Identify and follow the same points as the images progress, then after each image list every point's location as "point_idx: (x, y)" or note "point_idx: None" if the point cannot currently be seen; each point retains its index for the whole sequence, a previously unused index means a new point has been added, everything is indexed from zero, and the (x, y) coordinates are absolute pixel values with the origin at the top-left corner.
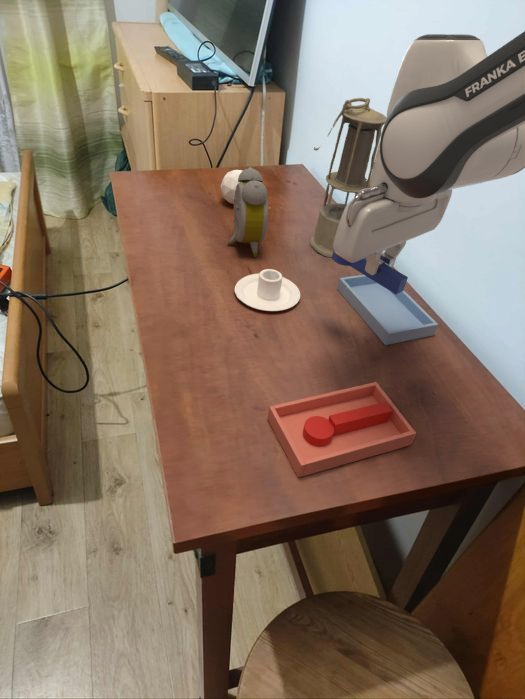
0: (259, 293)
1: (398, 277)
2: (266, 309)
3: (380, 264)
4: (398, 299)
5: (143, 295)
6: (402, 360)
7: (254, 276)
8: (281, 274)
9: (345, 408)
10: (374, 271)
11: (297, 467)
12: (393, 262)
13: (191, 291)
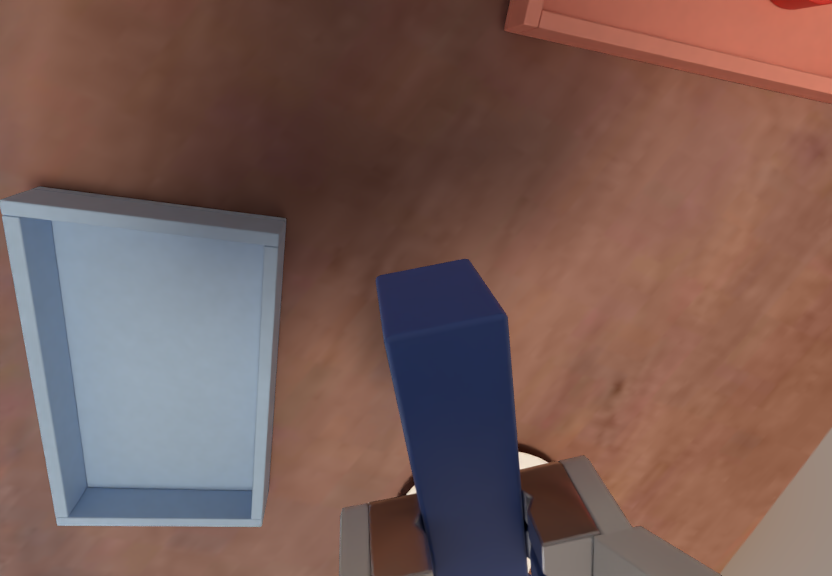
0: None
1: (486, 361)
2: (538, 462)
3: (570, 534)
4: (75, 398)
5: (720, 559)
6: (274, 123)
7: None
8: None
9: (649, 7)
10: (599, 479)
11: None
12: (362, 539)
13: None
